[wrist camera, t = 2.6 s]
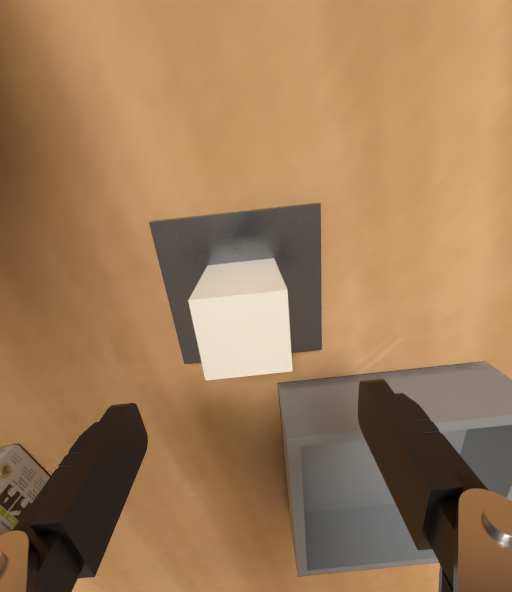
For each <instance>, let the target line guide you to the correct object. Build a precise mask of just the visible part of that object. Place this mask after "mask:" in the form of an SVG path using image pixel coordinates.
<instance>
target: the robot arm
mask: <svg viewBox="0 0 512 592" xmlns="http://www.w3.org/2000/svg"><path fill="white" fill-rule="evenodd" d="M358 421H359V426H360V429H361V432H362V434H363V436H364V438H365V440H366V442H367V445H368V447H369V449H370V451H371V453H372V455H373V457H374V459H375V461H376V464H377V466H378V468H379V470H380V472H381V474H382V476H383V478H384V480H385V483H386V485H387V487H388V489H389V491H390V493H391V495H392V497H393V499H394V502H395V504H396V506H397V508H398V510H399V512H400V514H401V516H402V518H403V520H404V523H405V525H406V527H407V529H408V531H409V533H410V535H411V537H412V539H413V542H414V544H415V546H416V548H417V550H429V549H433V551H434V553H435V555H436V557H437V559H438V561H439V563H440V565H441V566H440V574H439V592H512V501H510V500H509V499H507V498H505V497H503V496H501V495H499V494H497V493H495V492H492V491H490V490H489V489H488V488H487V487H486V486H485V485H484V484H483V483H482V482H481V480H480V479H479V478H478V477H477V475H476V474H475V473H474V472H473V471H472V469H471V468H470V467H469V466H468V464H467V463H466V462H465V461H464V459H463V458H462V457H461V456H460V455H459V453H458V452H457V451H456V450H455V448H454V447H453V446H452V445H451V443H450V442H449V441H448V440H447V439H446V437H445V436H444V435H443V434H442V433H440V431H439V429H438V428H437V426H436V425H435V424H434V423H433V421H430V418H429V416H428V415H427V414H426V413H425V412H424V410H423V409H422V408H421V407H420V405H419V404H418V403H416V402H415V401H413V400H412V399H411V398H409V397H408V396H406V395H405V394H403V393H397V394H395V393H394V392H393V390H392V389H391V388H390V386H389V385H388V384H387V382H386V381H385V380H384V379H375V380H365V381H360V383H359V395H358ZM147 443H148V437H147V432H146V429H145V427H144V424H143V421H142V418H141V415H140V412H139V410H138V407H137V405H136V404H135V403H129V404H119V405H112V406H110V407H109V408H108V409H107V411H106V412H105V414H104V415H103V417H102V418H101V420H100V421H99V422H96V423H94V424H93V425H92V426H90V427H89V428H88V429H87V430H86V431H85V432H84V433H83V434H82V435H80V436H79V438H78V439H77V441H76V442H75V443H74V445H73V446H72V448H71V449H70V450H69V453H68V455H66V456H65V457H64V459H63V460H62V462H61V463H60V464H59V468H58V469H56V470H55V471H54V473H53V474H52V476H51V477H50V478H49V480H48V481H47V483H46V484H45V485H44V487H43V488H42V490H41V491H40V492H39V494H38V495H37V497H36V498H35V499H34V501H33V502H32V504H31V505H30V506H29V508H28V509H27V511H26V512H25V513H24V515H23V516H22V518H21V519H20V520H19V522H18V523H17V525H16V526H15V527H14V528H13V530H12V531H11V532H7V533H5V534H2V535H0V592H72V589H73V587H74V585H75V583H76V581H77V578H87V577H95V575H96V573H97V570H98V568H99V565H100V563H101V561H102V558H103V556H104V553H105V551H106V548H107V546H108V543H109V541H110V539H111V536H112V534H113V531H114V529H115V526H116V524H117V521H118V519H119V517H120V514H121V512H122V509H123V507H124V504H125V502H126V499H127V497H128V495H129V492H130V490H131V487H132V485H133V482H134V480H135V478H136V475H137V473H138V470H139V468H140V465H141V463H142V460H143V458H144V456H145V453H146V450H147Z"/></svg>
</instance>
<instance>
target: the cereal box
mask: <svg viewBox="0 0 512 592" xmlns="http://www.w3.org/2000/svg"><path fill="white" fill-rule="evenodd" d="M49 478H50V476H49V475H48V474H47V473H46V472H45V471H44V470H43V469H42V468H41V467H40V466H39V465H38V464H37V463H36V462H35V461H34V460H33V459H32V458H31V457H30V456H29V455H28V454H27V453H26V452H25V451H24V450H23V449H22V448H21V447H20V446H19V445H11V446H7V447H4V448H0V535H2V534H5V533H7V532H11V531H12V530H13V528H14V527H15V526H16V525H17V523H18V522H19V520H20V519H21V518H22V516H23V515H24V513H25V512H26V511H27V509H28V508H29V506H30V505H31V504H32V502H33V501H34V499H35V498H36V497H37V495H38V494H39V492H40V491H41V490H42V488H43V487H44V485H45V484H46V483H47V481H48V480H49Z"/></svg>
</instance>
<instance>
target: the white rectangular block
mask: <svg viewBox="0 0 512 592" xmlns="http://www.w3.org/2000/svg"><path fill="white" fill-rule="evenodd" d="M188 302H189V307H190V311H191V316H192V321H193V325H194V330H195V334H196V339H197V343H198V348H199V353H200V357H201V362H202V366H203V371H204V375H205V380H215V379H224V378H234V377H243V376H253V375H262V374H272V373H281V372H291V371H292V356H291V339H290V323H289V306H288V290H287V287H286V285H285V283H284V280H283V278H282V276H281V273H280V271H279V269H278V266H277V264H276V261H275V259H274V258H271V259H262V260H253V261H243V262H234V263H225V264H216V265H208V266H207V267H206V269H205V271H204V273H203V275H202V276H201V278H200V280H199V282H198V284H197V285H196V287H195V289H194V291H193V293H192V294H191V296H190V298H189V300H188Z"/></svg>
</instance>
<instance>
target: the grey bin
mask: <svg viewBox="0 0 512 592" xmlns="http://www.w3.org/2000/svg"><path fill="white" fill-rule="evenodd" d="M375 379H384V380H385V381H386V382H387V384H388V385H389V386H390V388H391V389H392V390H393V392H394V393H395V394H397V393H403V394H405V395H406V396H408V397H409V398H411V399H412V400H413V401H415V402H416V403H418V404H419V405H420V407H421V408H422V409H423V410H424V412H425V413H426V414H427V415H428V416H429V418H430V421H433V423H434V424H435V425H436V426H437V428H438V429H439V431H440V433H442V434H443V435H444V436H445V437H446V439H447V440H448V441H449V442H450V443H451V445H452V446H453V447H454V448H455V450H456V451H457V452H458V453H459V455H460V456H461V457H462V458H463V459H464V461H465V462H466V463H467V464H468V466H469V467H470V468H471V469H472V471H473V472H474V473H475V474H476V475H477V477H478V478H479V479H480V480H481V482H482V483H483V484H484V485H485V486H486V487H487V488H488V489H489V490H490V491H492V492H495V493H497V494H499V495H501V496H503V497H505V498H507V499H509V500H510V501H512V380H511V379H510V378H509V377H507V376H506V375H504V374H503V373H501V372H500V371H499V370H497V369H496V368H494V367H493V366H491V365H490V364H489V363H487V362H486V361H484V362H475V363H465V364H456V365H446V366H437V367H427V368H417V369H408V370H398V371H389V372H379V373H370V374H360V375H351V376H341V377H332V378H322V379H312V380H303V381H293V382H284V383H278V391H279V403H280V414H281V425H282V437H283V448H284V459H285V471H286V482H287V493H288V504H289V514H290V521H291V529H292V537H293V544H294V552H295V559H296V567H297V574H298V577H299V576H309V575H319V574H330V573H340V572H350V571H360V570H370V569H380V568H390V567H400V566H411V565H421V564H431V563H439V561H438V559H437V557H436V555H435V553H434V551H433V549H429V550H417V548H416V546H415V544H414V542H413V539H412V537H411V535H410V533H409V531H408V529H407V527H406V525H405V523H404V520H403V518H402V516H401V514H400V512H399V510H398V508H397V506H396V504H395V502H394V499H393V497H392V495H391V493H390V491H389V489H388V487H387V485H386V483H385V480H384V478H383V476H382V474H381V472H380V470H379V468H378V466H377V464H376V461H375V459H374V457H373V455H372V453H371V451H370V449H369V447H368V445H367V442H366V440H365V438H364V436H363V434H362V432H361V429H360V426H359V421H358V395H359V383H360V381H365V380H375Z"/></svg>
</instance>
